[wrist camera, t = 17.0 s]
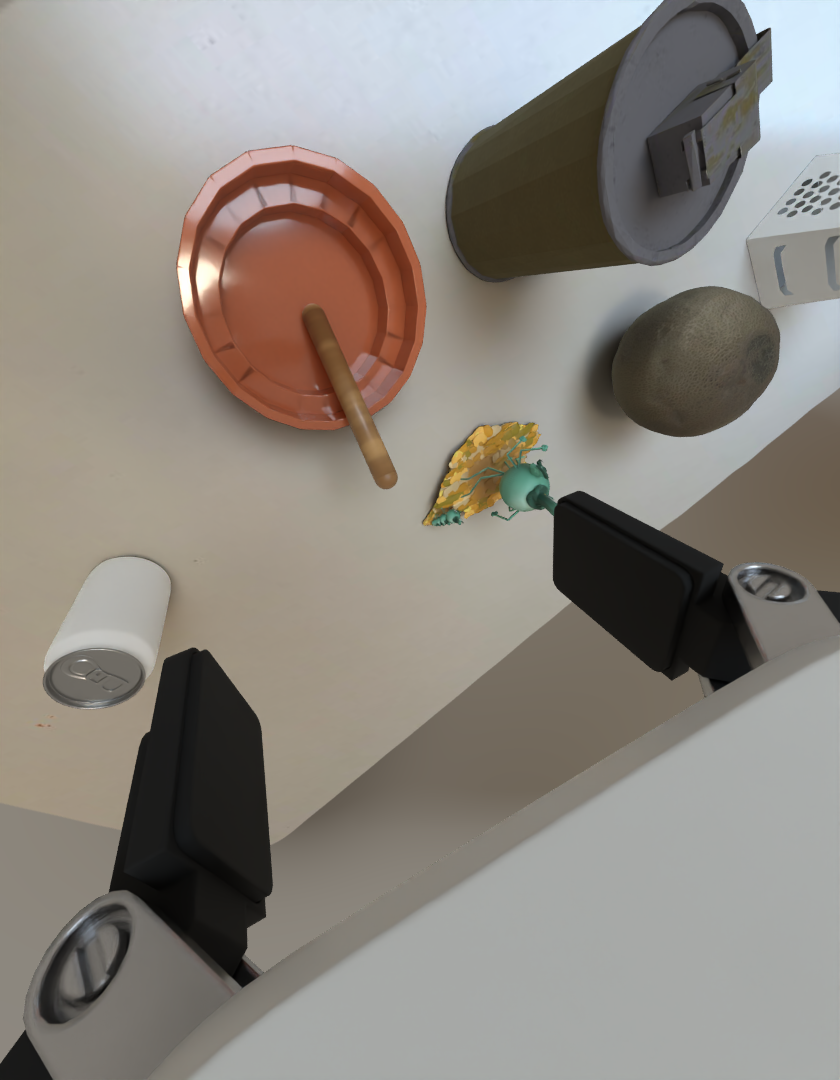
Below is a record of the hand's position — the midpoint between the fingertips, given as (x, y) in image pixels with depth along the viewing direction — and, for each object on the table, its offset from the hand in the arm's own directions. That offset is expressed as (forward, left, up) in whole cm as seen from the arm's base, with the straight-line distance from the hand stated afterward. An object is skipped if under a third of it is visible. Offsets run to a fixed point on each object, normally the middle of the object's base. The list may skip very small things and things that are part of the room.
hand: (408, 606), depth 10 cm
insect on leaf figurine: (+13, +18, -31) cm, 38 cm away
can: (+12, -19, -31) cm, 38 cm away
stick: (-6, +4, -29) cm, 30 cm away
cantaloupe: (+6, +39, -31) cm, 50 cm away
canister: (-10, +23, -31) cm, 39 cm away
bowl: (-6, +4, -30) cm, 31 cm away
